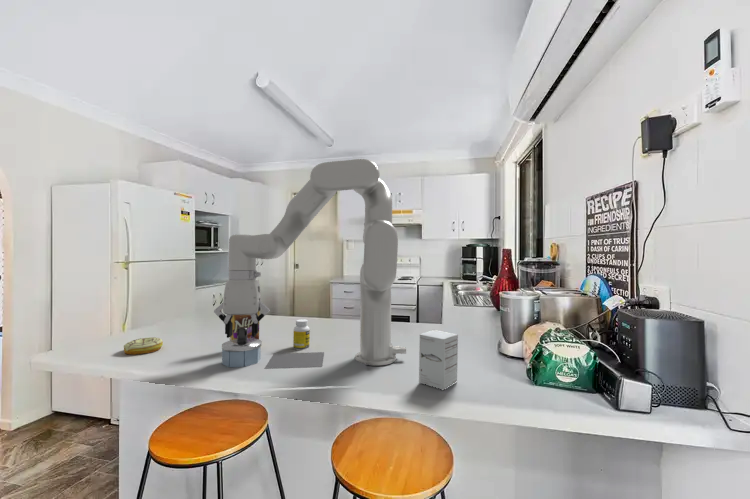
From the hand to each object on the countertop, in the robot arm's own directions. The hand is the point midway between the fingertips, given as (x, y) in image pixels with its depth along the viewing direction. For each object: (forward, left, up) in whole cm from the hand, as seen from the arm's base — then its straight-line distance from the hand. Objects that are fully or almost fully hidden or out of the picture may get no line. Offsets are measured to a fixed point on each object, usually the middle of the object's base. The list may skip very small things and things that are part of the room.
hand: (241, 335), depth 101 cm
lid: (0, 0, -3) cm, 3 cm away
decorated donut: (+36, -16, -9) cm, 40 cm away
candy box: (+3, -14, -8) cm, 17 cm away
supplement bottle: (-16, -13, -8) cm, 22 cm away
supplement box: (-54, +20, -8) cm, 58 cm away
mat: (-16, 0, -8) cm, 18 cm away
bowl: (0, 0, -8) cm, 8 cm away
